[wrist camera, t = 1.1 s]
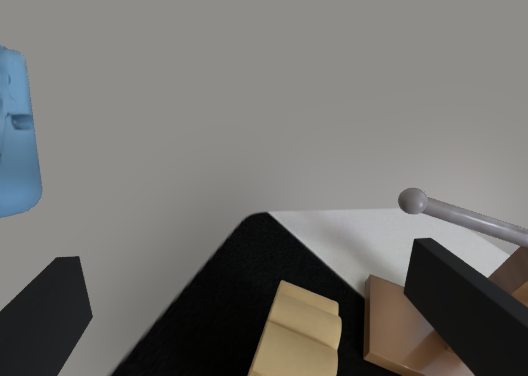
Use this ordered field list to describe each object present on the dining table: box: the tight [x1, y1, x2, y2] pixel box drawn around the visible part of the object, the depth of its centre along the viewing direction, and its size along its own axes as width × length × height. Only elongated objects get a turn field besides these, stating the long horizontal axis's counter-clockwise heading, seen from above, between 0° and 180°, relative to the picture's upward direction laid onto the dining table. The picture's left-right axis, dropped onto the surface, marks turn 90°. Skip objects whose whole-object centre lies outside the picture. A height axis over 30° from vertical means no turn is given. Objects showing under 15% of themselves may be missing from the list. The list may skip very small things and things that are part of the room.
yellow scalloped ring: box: [248, 280, 341, 376], centre depth 21 cm, size 4×12×12 cm, turn 161°
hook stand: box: [363, 188, 528, 376], centre depth 26 cm, size 15×10×21 cm, turn 71°
